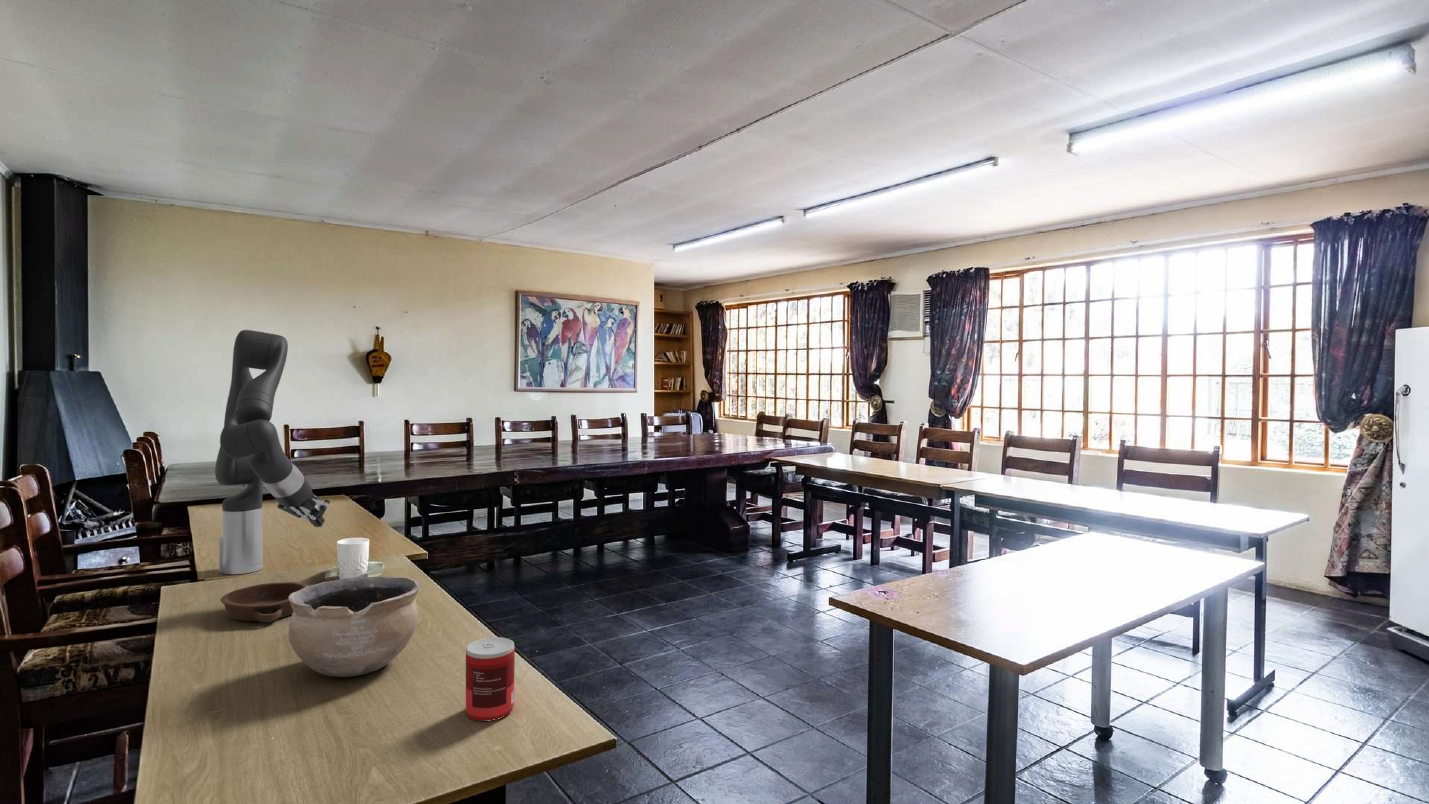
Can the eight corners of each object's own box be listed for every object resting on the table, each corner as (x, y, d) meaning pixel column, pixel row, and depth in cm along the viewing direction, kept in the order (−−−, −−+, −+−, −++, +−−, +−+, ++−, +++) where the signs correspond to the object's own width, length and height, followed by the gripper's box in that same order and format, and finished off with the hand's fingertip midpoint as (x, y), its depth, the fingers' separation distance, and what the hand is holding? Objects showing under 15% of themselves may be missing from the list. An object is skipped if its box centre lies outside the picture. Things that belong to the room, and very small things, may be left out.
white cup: (330, 579, 190) (330, 542, 190) (355, 572, 197) (355, 536, 197) (351, 583, 187) (351, 545, 187) (376, 575, 194) (375, 539, 194)
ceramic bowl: (269, 698, 120) (269, 611, 120) (306, 650, 141) (306, 576, 141) (410, 685, 126) (410, 602, 126) (425, 641, 147) (426, 569, 146)
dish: (218, 635, 149) (217, 612, 149) (223, 606, 168) (222, 585, 167) (313, 621, 158) (313, 599, 158) (308, 595, 177) (308, 575, 177)
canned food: (496, 696, 122) (496, 633, 122) (524, 710, 117) (524, 644, 117) (455, 711, 116) (455, 645, 116) (483, 727, 111) (483, 658, 111)
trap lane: (281, 596, 175) (281, 584, 174) (340, 571, 198) (339, 560, 198) (331, 599, 173) (331, 586, 173) (384, 572, 197) (384, 562, 197)
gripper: (320, 471, 168) (351, 512, 181) (268, 469, 169) (302, 510, 182) (305, 497, 163) (338, 538, 176) (251, 495, 164) (288, 535, 177)
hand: (319, 524), depth 179 cm, fingers closed
